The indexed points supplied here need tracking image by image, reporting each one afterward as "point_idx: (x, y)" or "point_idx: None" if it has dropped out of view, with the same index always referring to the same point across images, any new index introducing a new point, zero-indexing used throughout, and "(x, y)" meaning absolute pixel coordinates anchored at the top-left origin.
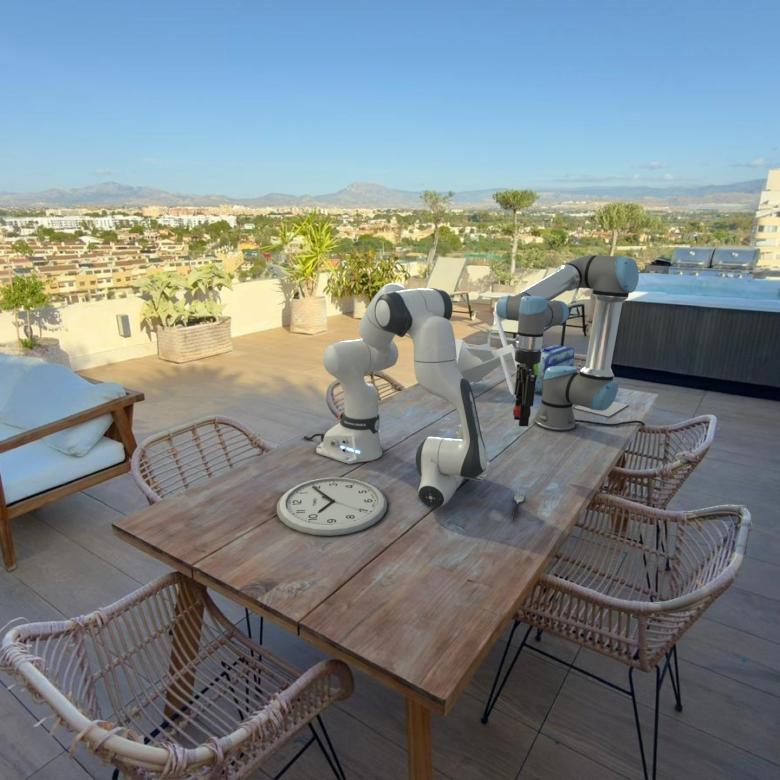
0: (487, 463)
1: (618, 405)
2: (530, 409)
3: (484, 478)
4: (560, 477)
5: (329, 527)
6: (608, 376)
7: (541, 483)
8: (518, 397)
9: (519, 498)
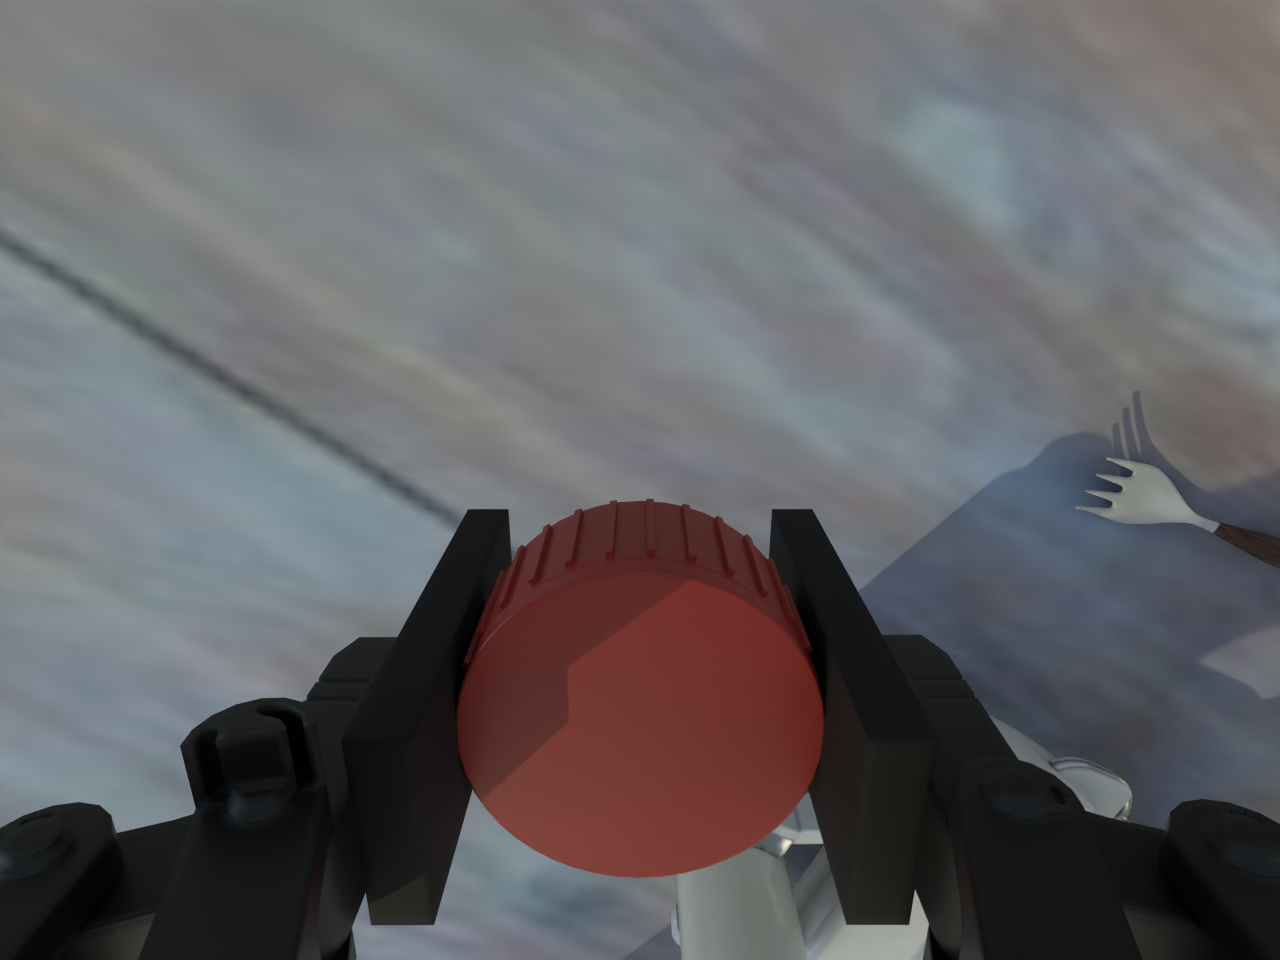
0: None
1: None
2: (736, 594)
3: (1130, 789)
4: (816, 21)
5: None
6: None
7: (910, 246)
8: (347, 929)
9: (1138, 491)
